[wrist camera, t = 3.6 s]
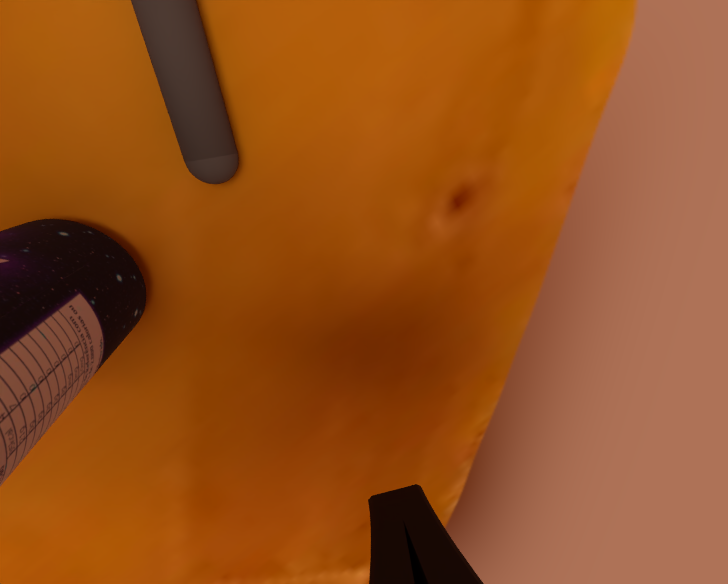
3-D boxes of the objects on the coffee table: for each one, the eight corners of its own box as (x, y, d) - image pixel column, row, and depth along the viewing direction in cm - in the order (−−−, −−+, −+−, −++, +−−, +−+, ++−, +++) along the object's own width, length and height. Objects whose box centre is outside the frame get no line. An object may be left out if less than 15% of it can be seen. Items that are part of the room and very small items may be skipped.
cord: (200, 184, 16) (187, 191, 14) (95, -139, 12) (59, -189, 10) (247, 176, 16) (241, 181, 14) (160, -145, 12) (136, -195, 10)
